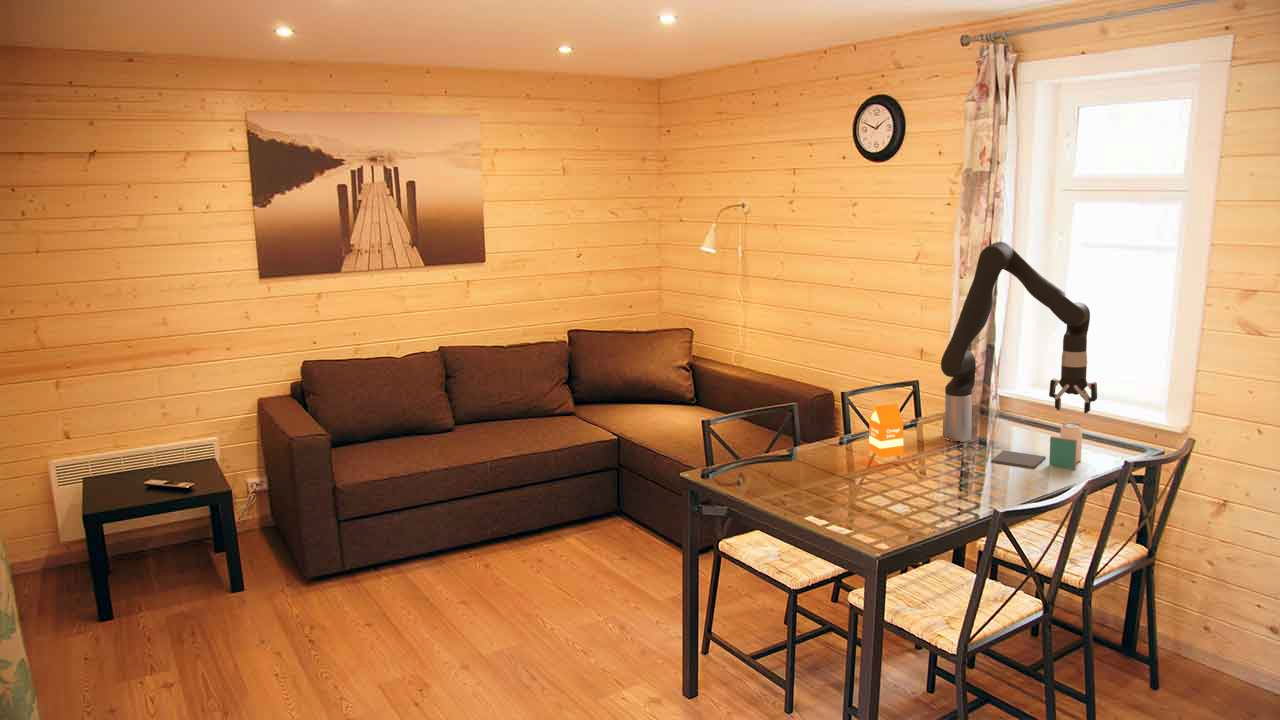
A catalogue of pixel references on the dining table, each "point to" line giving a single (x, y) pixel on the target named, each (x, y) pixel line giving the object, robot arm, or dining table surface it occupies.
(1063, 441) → the tile
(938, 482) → the dining table surface
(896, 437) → the orange juice
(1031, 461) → the mat
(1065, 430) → the can
